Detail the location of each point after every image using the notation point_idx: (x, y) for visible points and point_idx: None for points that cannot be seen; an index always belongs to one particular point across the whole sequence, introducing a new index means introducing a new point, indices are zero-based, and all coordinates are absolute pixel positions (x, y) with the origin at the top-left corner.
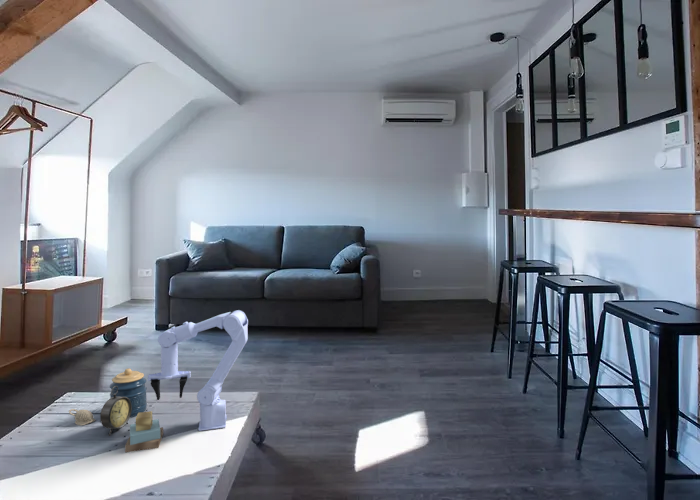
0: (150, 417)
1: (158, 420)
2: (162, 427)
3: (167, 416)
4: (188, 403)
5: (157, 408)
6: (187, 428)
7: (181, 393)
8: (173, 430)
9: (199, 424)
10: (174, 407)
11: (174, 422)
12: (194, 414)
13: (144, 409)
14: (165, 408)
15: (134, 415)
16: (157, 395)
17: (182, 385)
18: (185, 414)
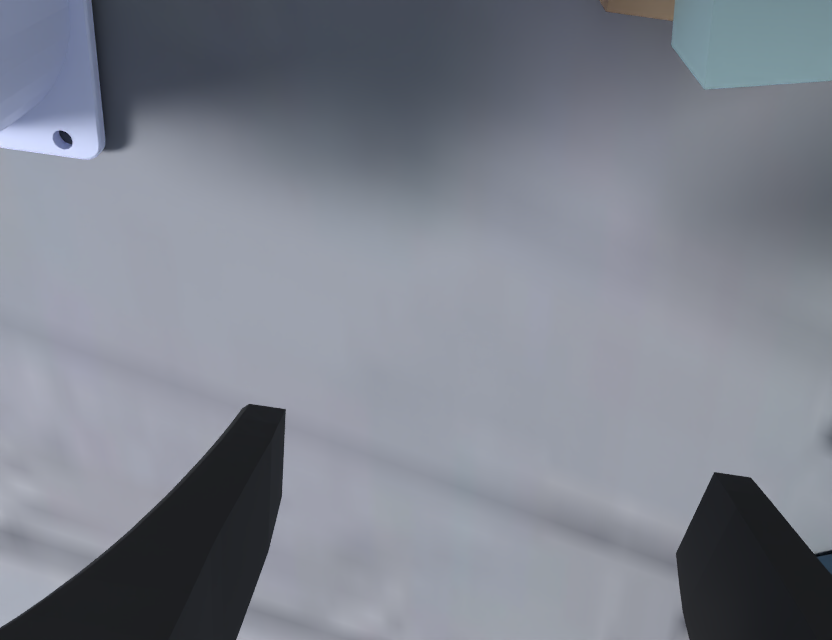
0: None
1: (716, 19)
2: (616, 9)
3: (505, 436)
4: (297, 603)
5: (587, 617)
6: (257, 11)
7: (208, 462)
8: (449, 32)
9: (82, 20)
10: (429, 580)
11: (433, 265)
12: (209, 369)
13: None
14: (514, 592)
15: (829, 561)
16: (789, 549)
17: (71, 636)
18: (312, 407)
